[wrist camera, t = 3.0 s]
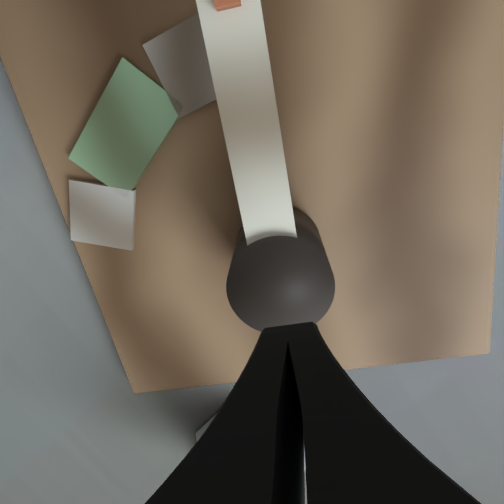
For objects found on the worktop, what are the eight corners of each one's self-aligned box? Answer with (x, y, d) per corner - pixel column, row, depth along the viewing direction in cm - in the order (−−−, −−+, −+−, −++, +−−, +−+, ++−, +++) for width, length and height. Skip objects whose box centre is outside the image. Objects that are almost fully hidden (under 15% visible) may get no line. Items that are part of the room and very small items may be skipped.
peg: (325, 276, 18) (341, 330, 14) (245, 288, 19) (237, 343, 14) (279, -77, 13) (282, -163, 9) (171, -48, 13) (123, -116, 9)
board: (502, -121, 13) (524, -143, 12) (479, 341, 20) (492, 356, 19) (-3, 10, 15) (-26, 3, 14) (139, 381, 23) (132, 397, 22)
